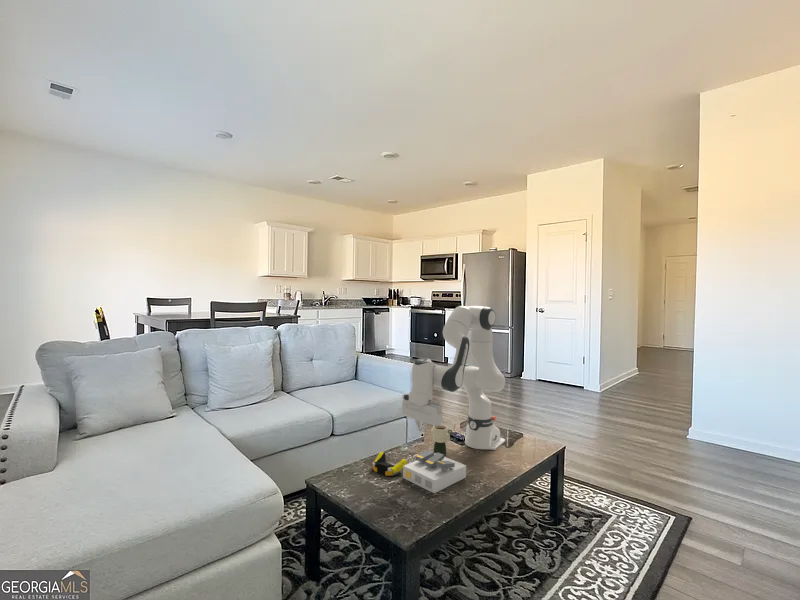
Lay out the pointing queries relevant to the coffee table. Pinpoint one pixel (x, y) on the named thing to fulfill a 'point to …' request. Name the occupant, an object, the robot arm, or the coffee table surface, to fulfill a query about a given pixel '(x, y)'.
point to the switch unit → (433, 475)
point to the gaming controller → (387, 465)
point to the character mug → (440, 438)
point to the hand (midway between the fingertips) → (421, 430)
